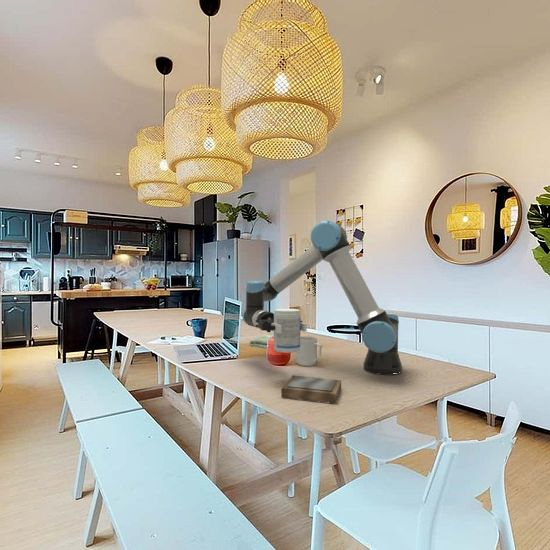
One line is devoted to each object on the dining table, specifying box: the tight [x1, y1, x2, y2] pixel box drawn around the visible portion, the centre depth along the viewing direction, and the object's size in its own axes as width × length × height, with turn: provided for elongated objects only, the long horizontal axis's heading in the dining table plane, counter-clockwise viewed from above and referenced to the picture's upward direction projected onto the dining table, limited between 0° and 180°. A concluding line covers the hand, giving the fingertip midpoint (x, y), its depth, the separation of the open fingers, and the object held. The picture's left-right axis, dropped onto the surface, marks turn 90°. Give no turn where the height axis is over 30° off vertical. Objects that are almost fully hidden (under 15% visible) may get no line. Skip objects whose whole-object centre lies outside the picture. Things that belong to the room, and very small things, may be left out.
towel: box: [249, 332, 274, 349], centre depth 198 cm, size 18×21×5 cm
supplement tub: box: [273, 308, 301, 354], centre depth 133 cm, size 10×10×15 cm
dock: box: [280, 375, 342, 404], centre depth 121 cm, size 17×15×3 cm
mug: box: [295, 336, 323, 367], centre depth 158 cm, size 12×9×11 cm
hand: (293, 328), depth 129 cm, fingers closed on supplement tub, 9 cm apart
